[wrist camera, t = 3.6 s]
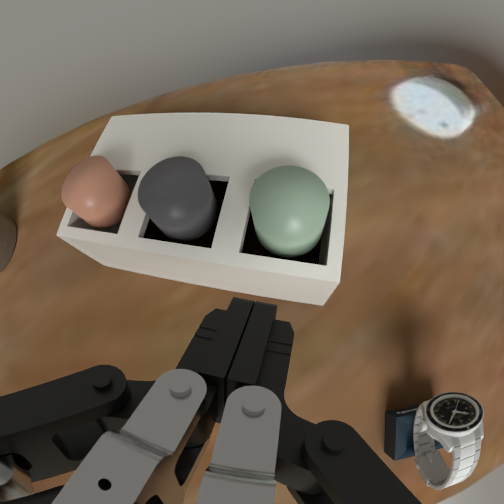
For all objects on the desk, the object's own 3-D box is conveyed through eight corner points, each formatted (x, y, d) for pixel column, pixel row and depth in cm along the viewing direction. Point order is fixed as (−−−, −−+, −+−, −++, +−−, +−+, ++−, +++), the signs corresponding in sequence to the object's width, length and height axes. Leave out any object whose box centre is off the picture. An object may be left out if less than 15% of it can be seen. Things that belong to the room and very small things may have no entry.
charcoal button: (150, 237, 23) (128, 214, 19) (168, 183, 25) (151, 155, 21) (209, 245, 22) (194, 222, 19) (224, 187, 24) (214, 158, 20)
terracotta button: (78, 226, 24) (53, 206, 21) (97, 179, 26) (76, 156, 22) (120, 232, 24) (95, 211, 20) (139, 181, 25) (119, 155, 21)
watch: (434, 382, 24) (500, 387, 14) (431, 454, 21) (489, 484, 11) (384, 393, 24) (437, 407, 14) (382, 467, 22) (426, 511, 11)
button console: (104, 265, 32) (56, 235, 23) (141, 162, 36) (111, 116, 28) (322, 305, 28) (339, 282, 19) (336, 179, 32) (348, 125, 24)
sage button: (249, 251, 22) (241, 229, 18) (261, 192, 23) (257, 161, 20) (318, 262, 21) (325, 241, 17) (325, 200, 23) (332, 170, 19)
